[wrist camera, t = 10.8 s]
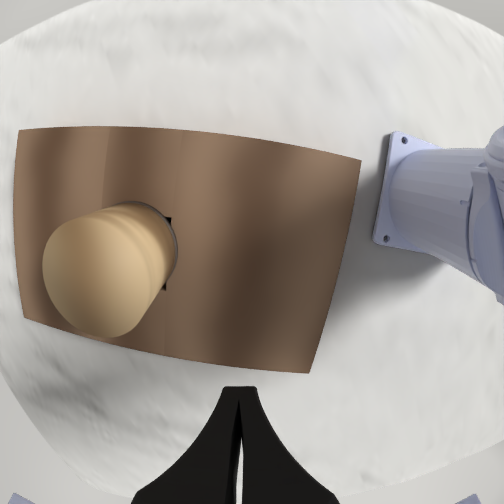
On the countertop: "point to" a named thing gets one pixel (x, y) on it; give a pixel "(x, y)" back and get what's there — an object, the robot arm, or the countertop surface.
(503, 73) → the countertop surface
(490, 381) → the countertop surface
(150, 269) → the oak peg
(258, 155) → the walnut board
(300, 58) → the countertop surface
